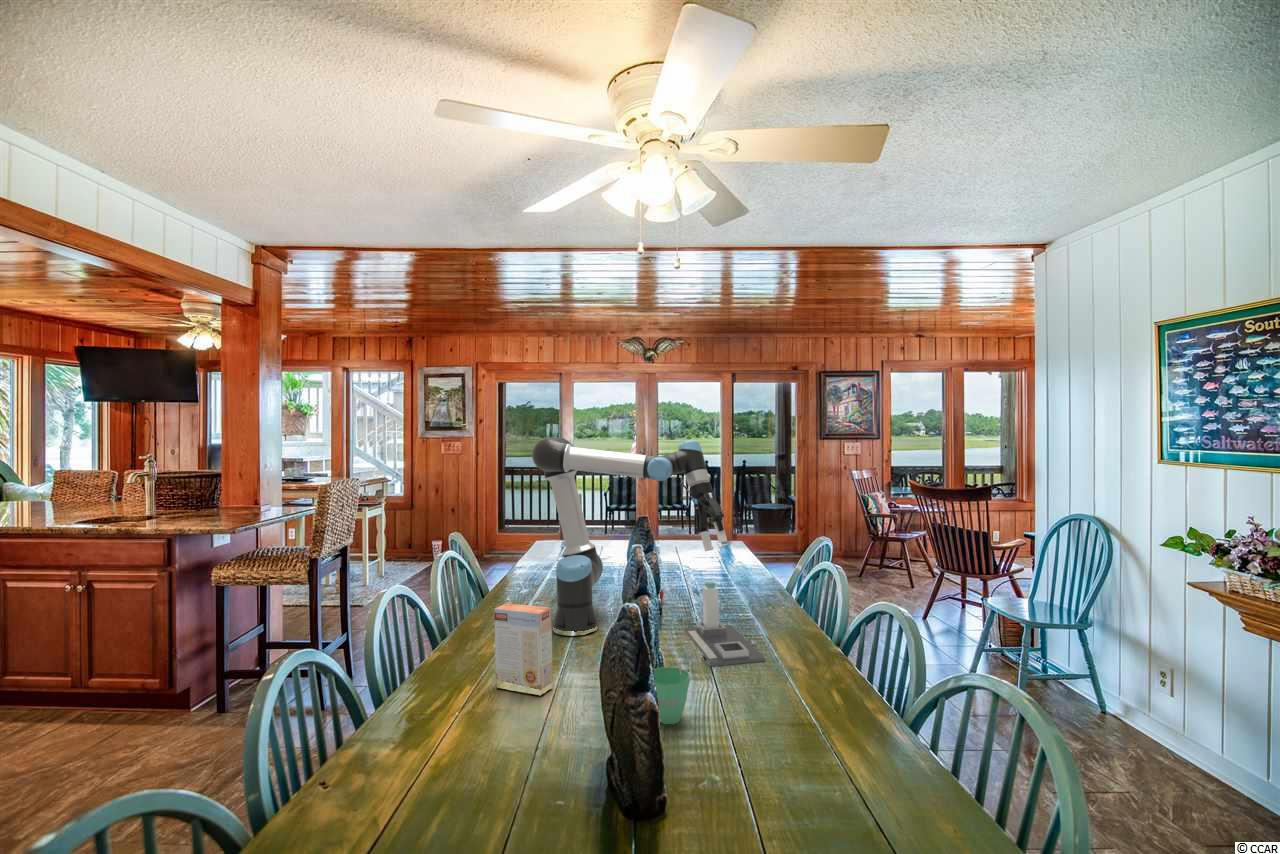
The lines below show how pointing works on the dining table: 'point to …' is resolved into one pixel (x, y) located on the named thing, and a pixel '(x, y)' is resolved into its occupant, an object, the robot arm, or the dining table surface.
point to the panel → (723, 645)
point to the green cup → (671, 693)
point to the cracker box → (523, 645)
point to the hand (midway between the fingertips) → (715, 546)
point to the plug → (710, 606)
